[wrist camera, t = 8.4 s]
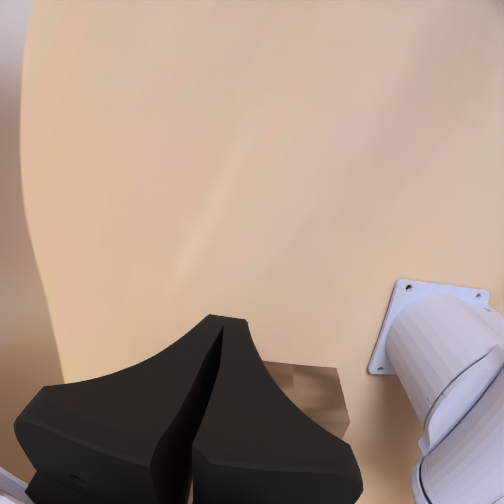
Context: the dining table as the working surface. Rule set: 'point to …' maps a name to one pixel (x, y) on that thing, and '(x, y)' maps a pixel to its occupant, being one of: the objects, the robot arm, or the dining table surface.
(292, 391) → the housing
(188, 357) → the robot arm
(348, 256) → the dining table surface
